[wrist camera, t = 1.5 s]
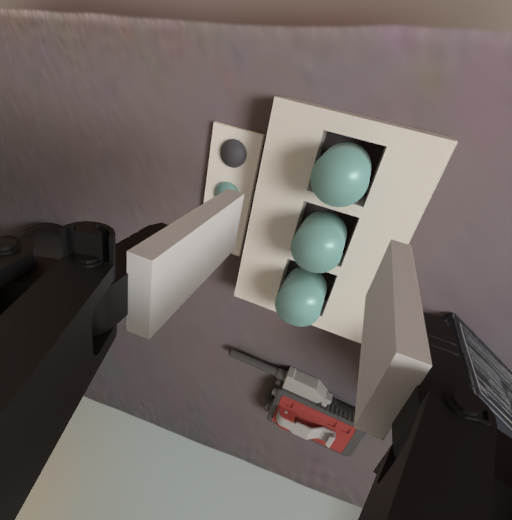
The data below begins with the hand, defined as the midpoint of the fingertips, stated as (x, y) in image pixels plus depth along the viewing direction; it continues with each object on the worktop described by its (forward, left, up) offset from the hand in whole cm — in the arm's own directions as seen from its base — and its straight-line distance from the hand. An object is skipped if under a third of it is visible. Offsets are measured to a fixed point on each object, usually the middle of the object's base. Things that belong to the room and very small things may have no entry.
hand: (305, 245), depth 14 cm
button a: (0, -12, -16) cm, 20 cm away
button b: (0, -6, -16) cm, 17 cm away
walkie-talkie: (+3, -30, -20) cm, 36 cm away
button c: (0, 0, -16) cm, 16 cm away
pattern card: (-10, -6, -19) cm, 22 cm away
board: (0, -6, -19) cm, 20 cm away
